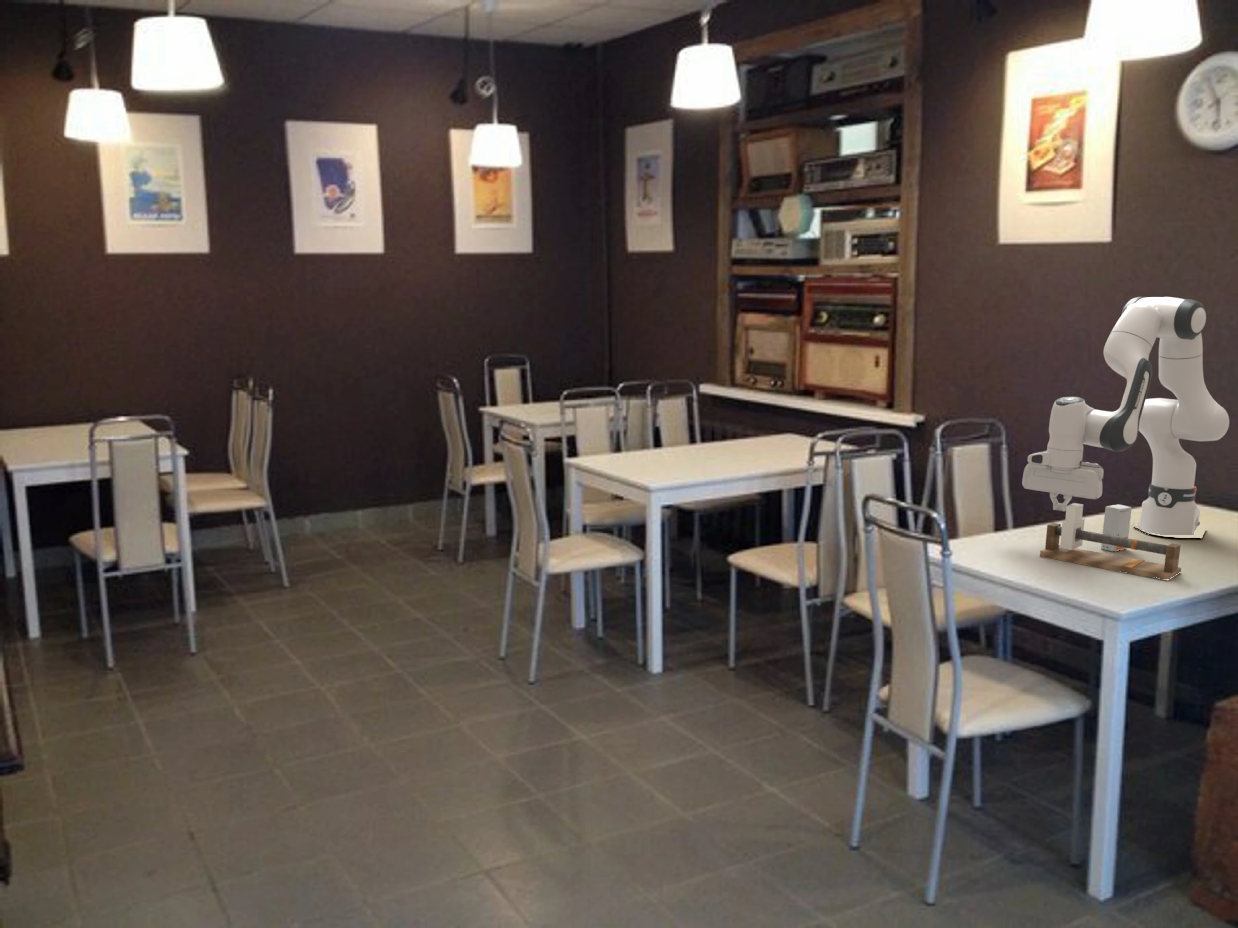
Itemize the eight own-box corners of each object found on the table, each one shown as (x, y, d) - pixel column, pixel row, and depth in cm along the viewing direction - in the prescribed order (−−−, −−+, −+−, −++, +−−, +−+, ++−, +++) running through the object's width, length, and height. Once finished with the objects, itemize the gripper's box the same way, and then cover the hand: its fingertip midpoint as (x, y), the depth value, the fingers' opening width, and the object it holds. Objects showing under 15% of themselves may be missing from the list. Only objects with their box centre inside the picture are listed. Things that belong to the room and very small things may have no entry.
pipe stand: (1040, 556, 298) (1042, 526, 297) (1055, 549, 305) (1057, 521, 304) (1167, 581, 277) (1171, 549, 275) (1180, 573, 284) (1184, 542, 282)
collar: (1059, 547, 295) (1063, 506, 293) (1070, 543, 301) (1074, 502, 299) (1071, 549, 293) (1075, 508, 291) (1082, 545, 299) (1086, 504, 297)
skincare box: (1114, 552, 304) (1119, 509, 302) (1100, 548, 307) (1104, 506, 305) (1127, 549, 307) (1132, 506, 305) (1113, 546, 311) (1118, 503, 309)
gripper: (1109, 462, 291) (1103, 515, 293) (1031, 452, 305) (1027, 502, 307) (1099, 465, 286) (1094, 518, 289) (1022, 455, 300) (1017, 505, 303)
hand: (1059, 510), depth 298 cm, fingers closed
